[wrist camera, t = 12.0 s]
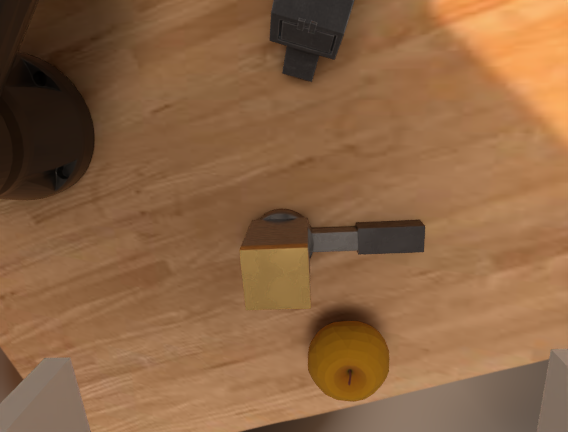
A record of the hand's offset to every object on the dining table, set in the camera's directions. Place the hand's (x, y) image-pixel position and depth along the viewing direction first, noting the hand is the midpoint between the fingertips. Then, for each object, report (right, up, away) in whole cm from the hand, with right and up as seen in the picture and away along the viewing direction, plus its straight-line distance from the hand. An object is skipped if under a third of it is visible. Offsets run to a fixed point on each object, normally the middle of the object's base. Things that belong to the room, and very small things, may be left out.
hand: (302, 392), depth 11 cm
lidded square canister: (-1, +2, +32) cm, 32 cm away
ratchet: (+5, +3, +33) cm, 34 cm away
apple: (+7, -9, +37) cm, 39 cm away
